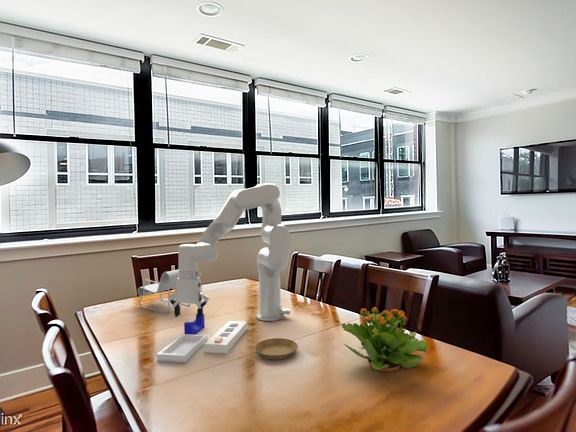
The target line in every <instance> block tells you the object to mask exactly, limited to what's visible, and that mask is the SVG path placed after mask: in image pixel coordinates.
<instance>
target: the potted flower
mask: <svg viewBox="0 0 576 432" xmlns="http://www.w3.org/2000/svg"><path fill="white" fill-rule="evenodd" d="M370 312H372V313H370ZM360 315H361V316H363V318H364V321H365V323H363V324H362V323H360V324H358V323H356V322H354V323H349V322H348V323H347V324H346V323H344V322H343V323H341V327H342V329H343V331H345V332H348V333H349V334H351V335H353V336H354V337H356V338H357V339H358V341H360V344H361V347H360V346H358V348H359V349H361V350H365V352H366V354H367V355H364V354H363V353H360V352H359V351H357V350H356V349H354V348H352V347H351V346H349V345H347V344H345V343H343V345H344V346H345V347H346V348H348V349H349V350H350V351H351V352H352V353H354V354H355V355H356V356H358V357H360V358H362V359H363V360H364V359H366V360H367V362H368V365H369V366H370V368H371V369H374V370H376V371H379V372H383V373H384V372H386V373H388V372H395V371H398V370H400V368H401V367H403V368H404V369H406V368H407V369H410V368H415V367H416V366H419V364H420V363H421V361H423V360H424V359H423V357H422V356H421V355H418V354H413V352H416V351H417V352H423V353H427V351H428V341H427V340H423V339H420V340H419V339H418V338H416V337H415V336H417V331H414V332H412V333H410V334H409V333H407V332H405V331H406V330H407V328H404V326H405V325H406V323H407V321H408V318H407V316H405V315H406V314H405V311H403V310H401V309H400V310H398V309H396V308H395V309H391V310H390V311H389V310H388V309H386V310H385V309H384V310H383V311H382V312H380V313H379V310H378V307H376V306H375V307H372V309H371V310H370V311H367V309H366V308H361V309H360ZM399 324H400V327H399V326H398V325H399ZM398 327H399V329H398ZM397 329H398V330H397Z"/></svg>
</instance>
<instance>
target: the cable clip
mask: <svg viewBox="0 0 576 432" xmlns="http://www.w3.org/2000/svg"><path fill="white" fill-rule="evenodd" d="M183 324H184V325H183V329H184V330H183V331H184V333H183V334H192V335H198V333H199V332H201V331H202V330H203V329H204V328H205V327H206V326H205V312H203V315H202V317H201V318H199V319H198V318H197V313H195V319H194V320H193V321H185V322H183Z"/></svg>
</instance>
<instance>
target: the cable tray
mask: <svg viewBox="0 0 576 432" xmlns="http://www.w3.org/2000/svg"><path fill="white" fill-rule="evenodd" d="M207 341H208V335H207V334H196V335H192V334H185V333H182V334H180V335H179V336H178V337H176V339H174V340H173V341H172V342H170V343H169V344H168V345H166V347H164V348H162V349H161V350H159V352H157V354H156V362H160V363H161V362H162V363H176V364H186V363H187V362H188V361H189V360H190V359H191V358H192V357H193V356H194V355H195V354H196V353H197V352H198V351H199V350H201V349H202V348H203V347H205V343H206V342H207Z"/></svg>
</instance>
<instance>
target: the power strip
mask: <svg viewBox="0 0 576 432" xmlns="http://www.w3.org/2000/svg"><path fill="white" fill-rule="evenodd" d="M246 331H248V321H238V320H235V321H234V320H228V321H227V322H226V323H225V324H223V326H222V327H220V328H219V330H218V331H217V332H215V333H214V334H213V336H211V337H210V338H209V339H207V342H206V343H205V345H204V353H213V354H228V353H229V352H230V350H231V349H232V348H233V347H234V345H235V344H236V343H237V342H238V341H239V339H240V338H241V337H242V336H243V334H244V333H246Z"/></svg>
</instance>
